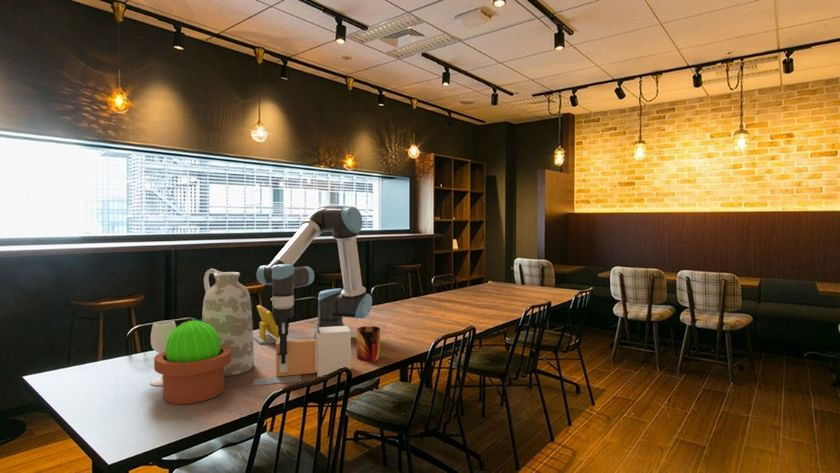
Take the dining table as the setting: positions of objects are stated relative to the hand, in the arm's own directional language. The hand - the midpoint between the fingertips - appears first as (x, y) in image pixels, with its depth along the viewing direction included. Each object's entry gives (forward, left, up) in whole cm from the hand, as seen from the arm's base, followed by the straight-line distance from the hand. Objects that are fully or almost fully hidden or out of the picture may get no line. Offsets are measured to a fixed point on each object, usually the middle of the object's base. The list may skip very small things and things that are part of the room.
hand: (283, 370), depth 165 cm
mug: (-12, +35, -2) cm, 37 cm away
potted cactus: (+10, -28, -2) cm, 30 cm away
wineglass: (-5, -40, -2) cm, 40 cm away
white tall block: (0, +18, -2) cm, 18 cm away
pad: (+4, -2, -2) cm, 5 cm away
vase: (-14, -21, -2) cm, 25 cm away
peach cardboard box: (0, +5, -2) cm, 5 cm away
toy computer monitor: (-51, -8, -2) cm, 52 cm away
